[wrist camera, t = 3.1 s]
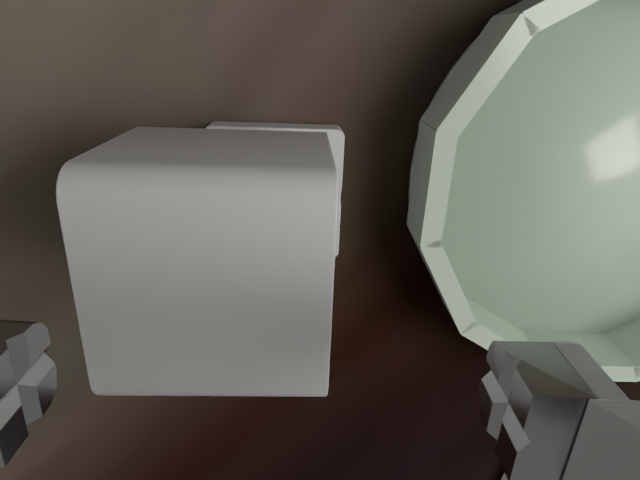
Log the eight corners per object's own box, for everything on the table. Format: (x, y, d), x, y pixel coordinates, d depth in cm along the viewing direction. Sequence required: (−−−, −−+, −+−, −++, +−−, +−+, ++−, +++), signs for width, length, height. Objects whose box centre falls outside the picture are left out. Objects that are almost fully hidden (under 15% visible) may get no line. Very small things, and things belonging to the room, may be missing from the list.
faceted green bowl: (711, 343, 24) (767, 384, 21) (389, 335, 24) (401, 377, 21) (867, -25, 18) (977, -39, 15) (437, -54, 17) (464, -74, 14)
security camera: (169, 109, 19) (46, 168, 10) (343, 114, 20) (378, 177, 10) (181, 252, 22) (90, 408, 12) (336, 255, 22) (359, 409, 13)
